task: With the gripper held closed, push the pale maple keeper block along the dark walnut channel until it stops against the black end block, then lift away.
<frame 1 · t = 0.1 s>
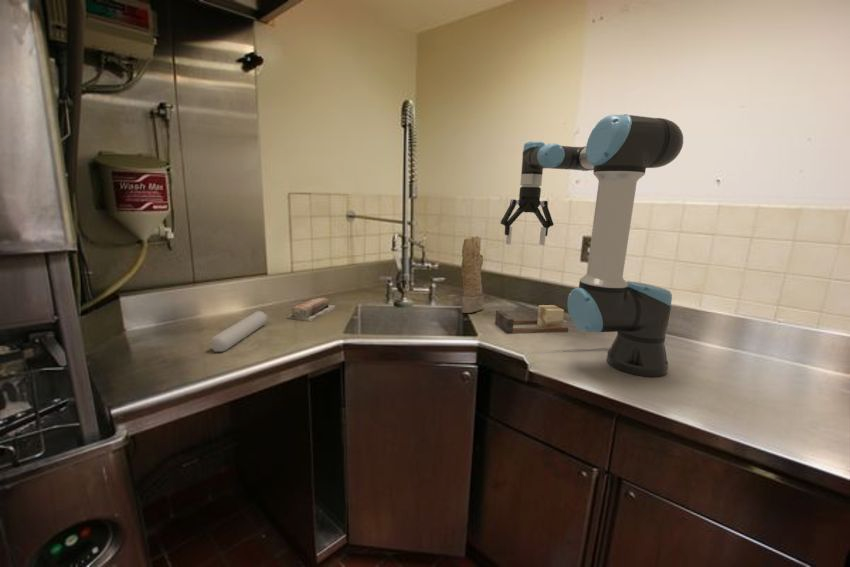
hand: (525, 244, 150), 28 cm above the counter, tool pointing down, fingers open, 13 cm apart
keeper: (550, 317, 138), point 5 cm above the counter, slide at 0.0 cm
packaged product: (312, 314, 148), on the counter
glove: (470, 310, 161), on the counter
guide channel: (530, 330, 138), on the counter
tube: (240, 339, 120), on the counter
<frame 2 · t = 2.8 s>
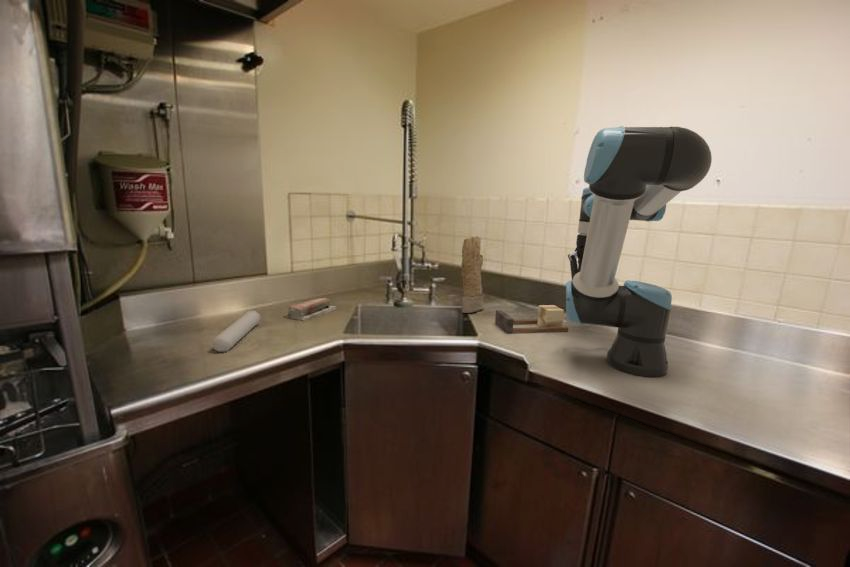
hand: (580, 301, 140), 10 cm above the counter, tool pointing down, fingers closed
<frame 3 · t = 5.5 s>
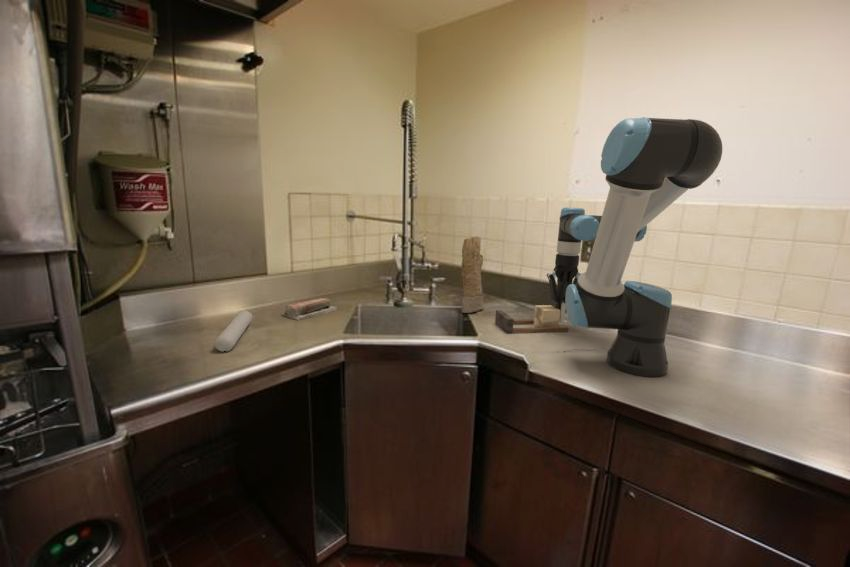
hand: (560, 320, 139), 3 cm above the counter, tool pointing down, fingers closed
keeper: (546, 317, 138), point 5 cm above the counter, slide at 1.4 cm, touching gripper
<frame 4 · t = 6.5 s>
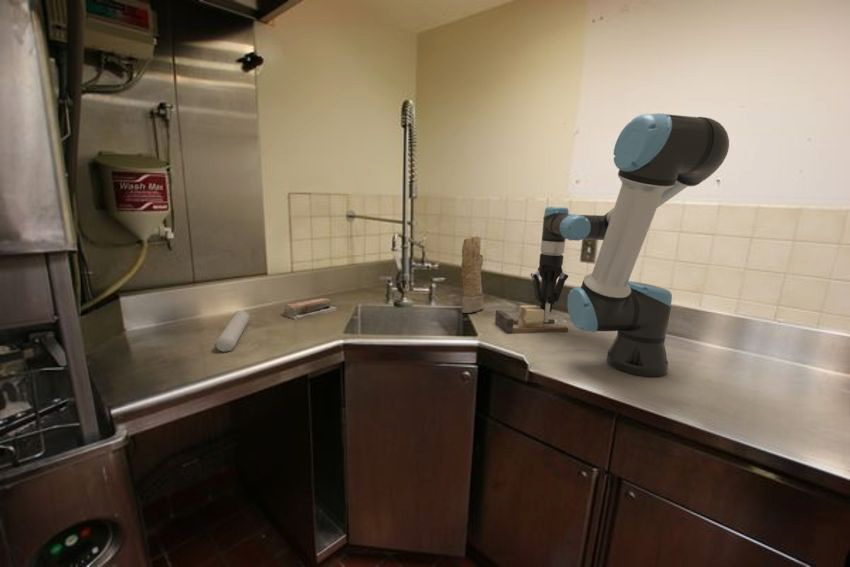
hand: (544, 320, 138), 3 cm above the counter, tool pointing down, fingers closed
keeper: (530, 317, 137), point 5 cm above the counter, slide at 7.3 cm, touching gripper
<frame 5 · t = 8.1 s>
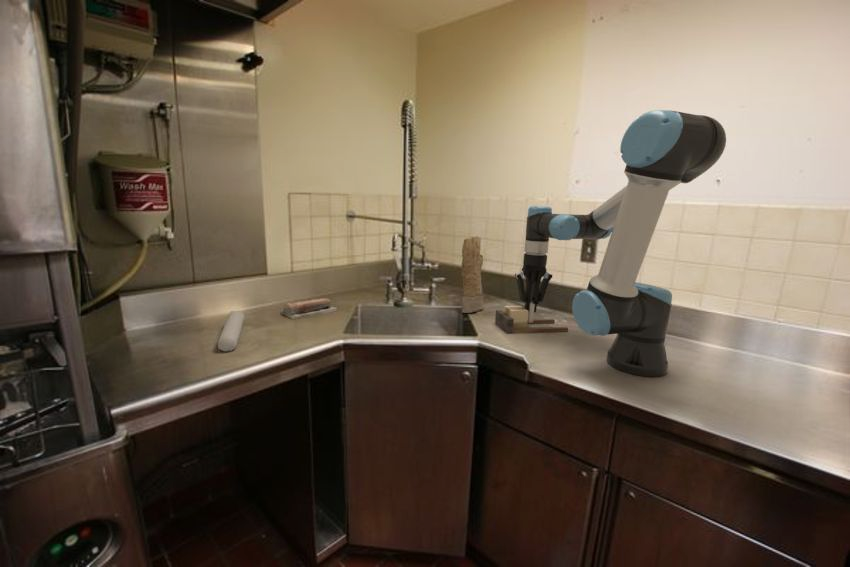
hand: (529, 321, 137), 3 cm above the counter, tool pointing down, fingers closed
keeper: (515, 318, 136), point 5 cm above the counter, slide at 13.0 cm, touching gripper, guide channel
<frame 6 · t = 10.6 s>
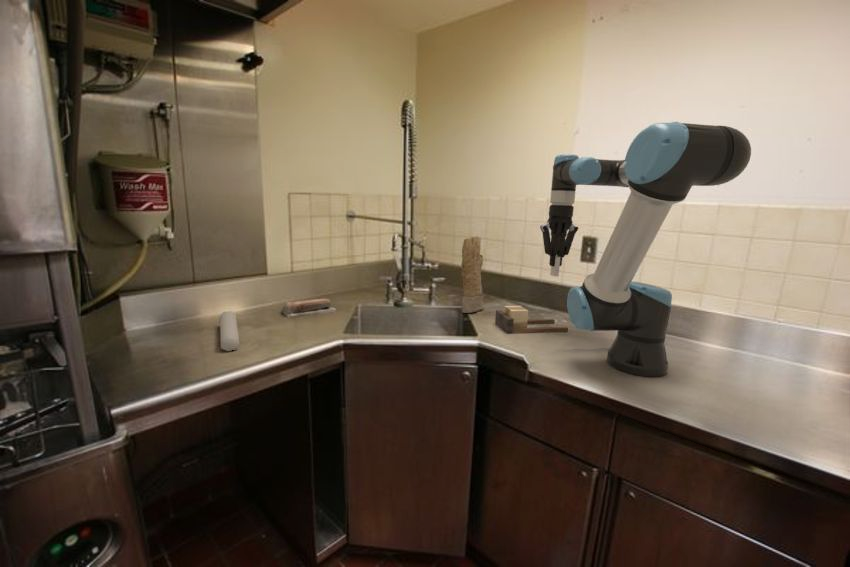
hand: (554, 275, 134), 20 cm above the counter, tool pointing down, fingers closed
keeper: (515, 318, 136), point 5 cm above the counter, slide at 13.0 cm, touching guide channel
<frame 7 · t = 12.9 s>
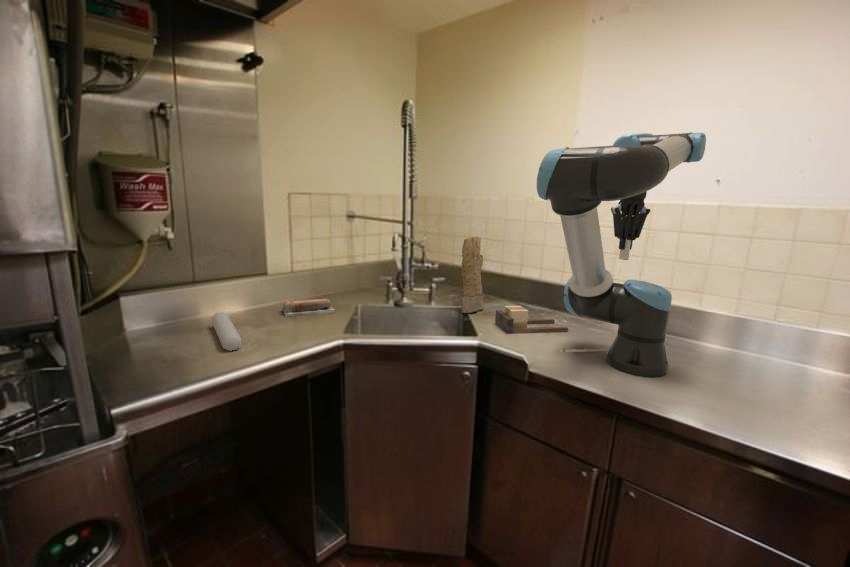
hand: (623, 259, 131), 26 cm above the counter, tool pointing down, fingers closed
at the end: keeper slide at 13.0 cm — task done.
